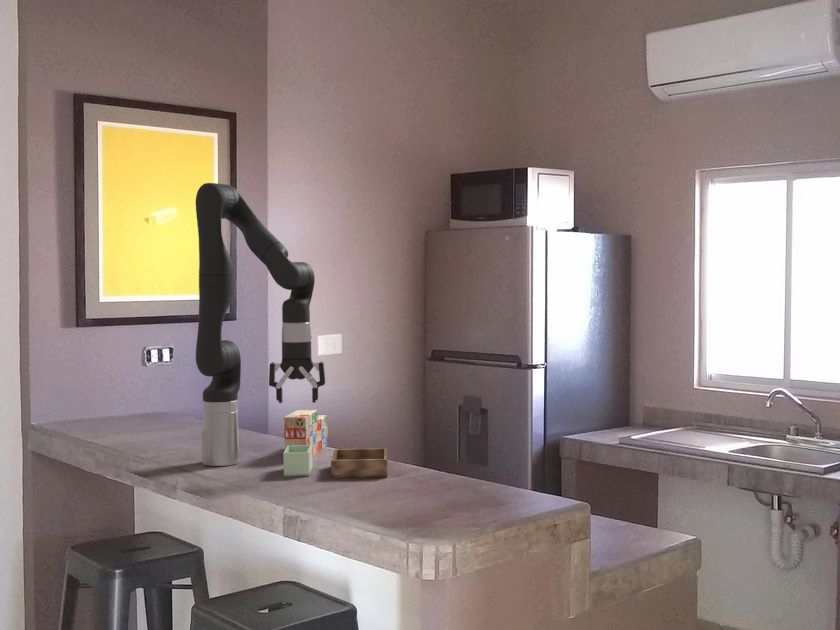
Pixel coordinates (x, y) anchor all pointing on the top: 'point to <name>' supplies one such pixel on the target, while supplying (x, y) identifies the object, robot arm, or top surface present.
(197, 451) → the top surface
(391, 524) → the top surface
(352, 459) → the big crate
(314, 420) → the stack of blocks
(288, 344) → the robot arm
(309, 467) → the small crate
